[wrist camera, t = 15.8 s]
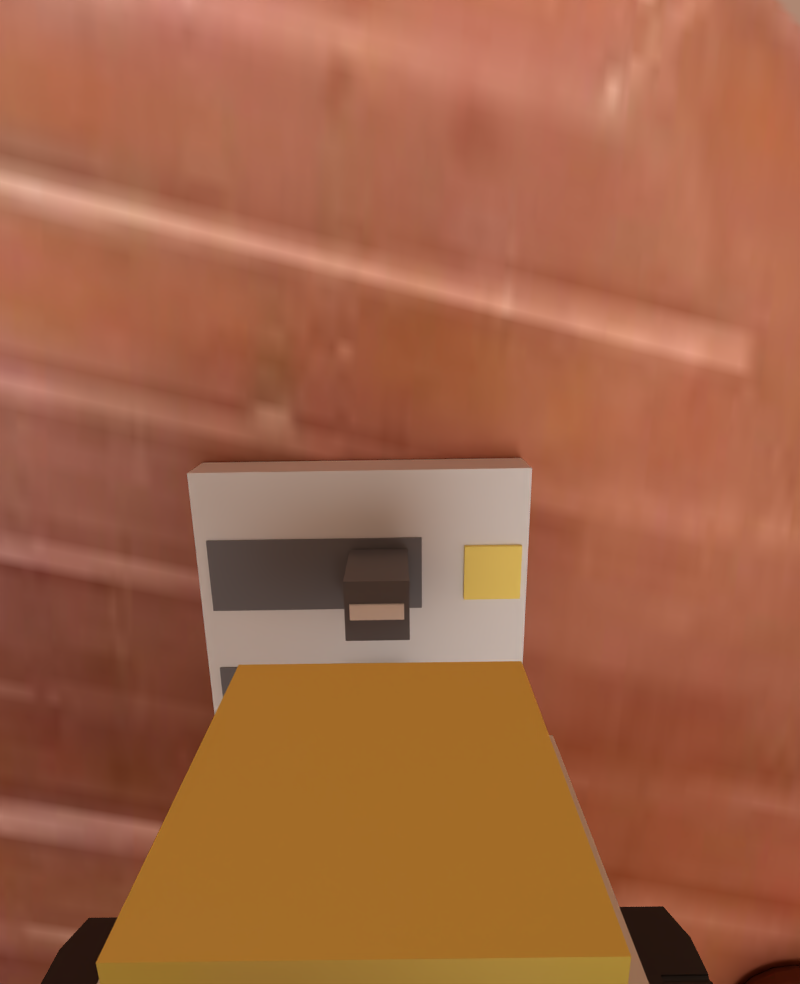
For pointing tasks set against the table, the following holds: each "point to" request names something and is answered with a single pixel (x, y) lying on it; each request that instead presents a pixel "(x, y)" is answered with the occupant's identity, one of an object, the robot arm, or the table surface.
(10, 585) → the table surface
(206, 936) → the cap
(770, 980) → the bottle
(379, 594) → the breaker
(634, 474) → the table surface
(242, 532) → the breaker board
